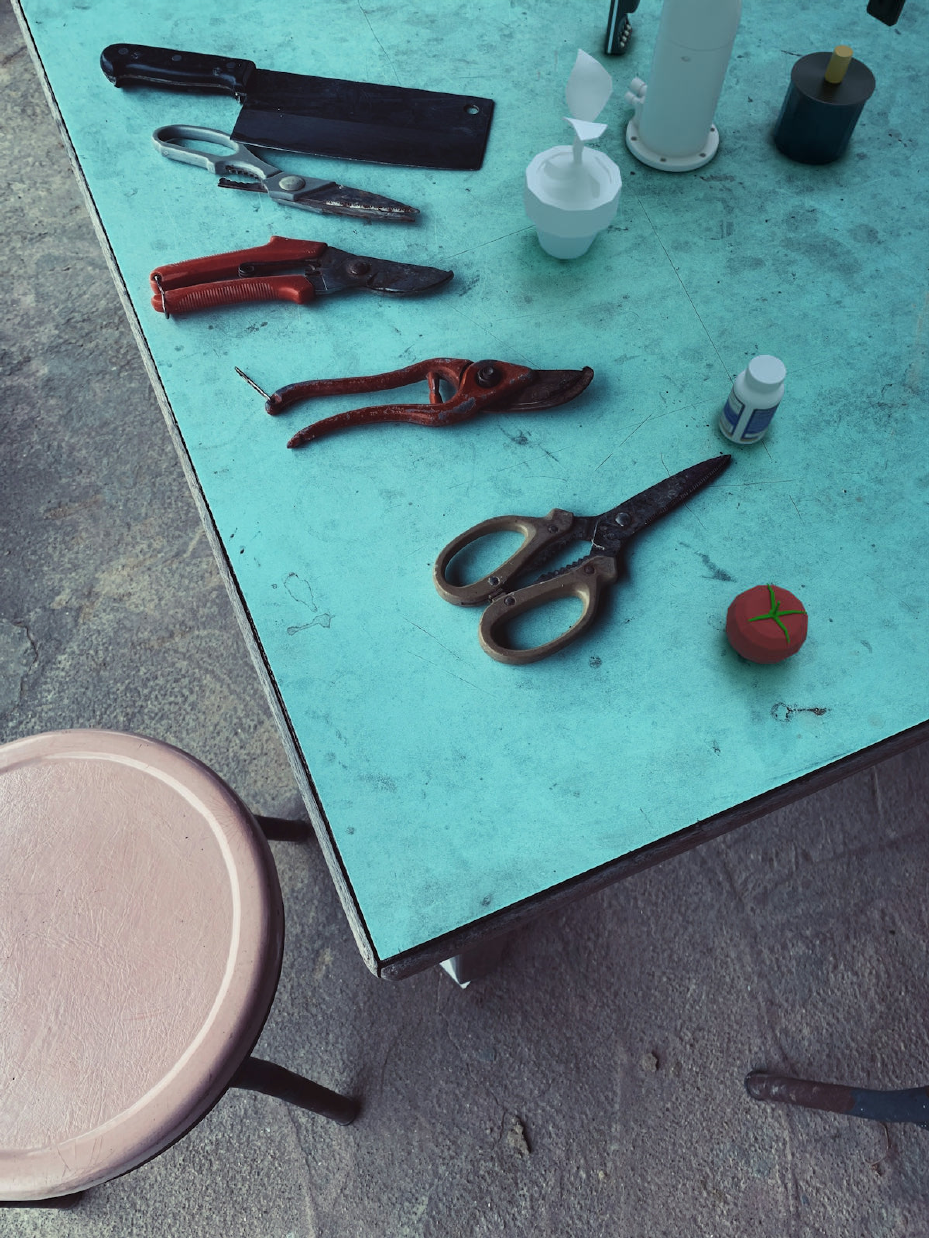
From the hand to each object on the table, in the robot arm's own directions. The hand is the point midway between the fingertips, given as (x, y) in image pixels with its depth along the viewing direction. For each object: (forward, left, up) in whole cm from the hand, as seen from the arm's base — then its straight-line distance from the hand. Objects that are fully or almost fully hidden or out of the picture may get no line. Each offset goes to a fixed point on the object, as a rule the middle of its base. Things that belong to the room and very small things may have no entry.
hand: (915, 0), depth 86 cm
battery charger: (-48, +16, -34) cm, 61 cm away
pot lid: (-16, +21, -25) cm, 36 cm away
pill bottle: (+11, -23, -34) cm, 42 cm away
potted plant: (-23, -19, -34) cm, 45 cm away
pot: (-16, +21, -34) cm, 43 cm away
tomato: (+30, -42, -34) cm, 62 cm away
